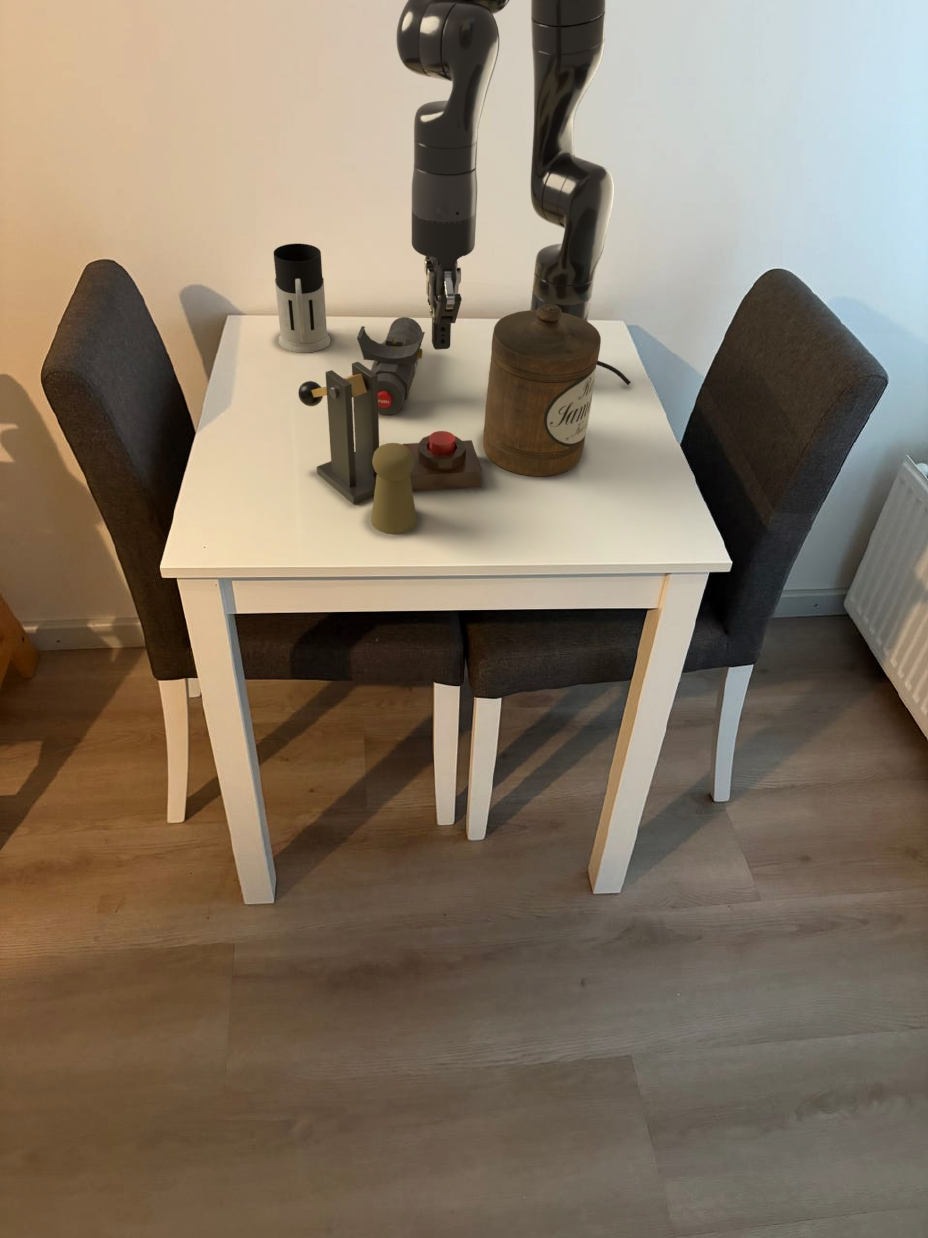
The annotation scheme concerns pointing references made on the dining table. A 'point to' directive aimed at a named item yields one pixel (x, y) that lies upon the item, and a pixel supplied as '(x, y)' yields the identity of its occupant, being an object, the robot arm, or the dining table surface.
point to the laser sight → (394, 361)
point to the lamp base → (444, 467)
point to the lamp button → (442, 443)
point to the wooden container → (540, 390)
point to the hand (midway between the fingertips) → (440, 346)
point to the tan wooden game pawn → (393, 489)
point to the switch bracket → (352, 435)
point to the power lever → (314, 393)
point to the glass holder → (300, 298)
